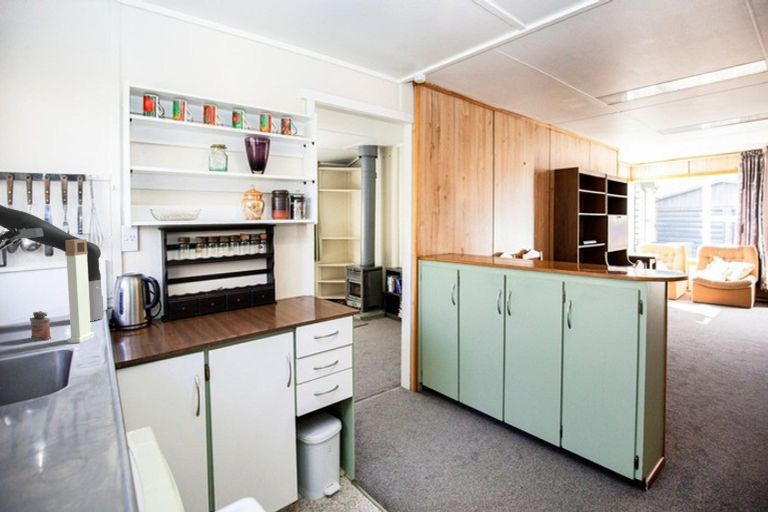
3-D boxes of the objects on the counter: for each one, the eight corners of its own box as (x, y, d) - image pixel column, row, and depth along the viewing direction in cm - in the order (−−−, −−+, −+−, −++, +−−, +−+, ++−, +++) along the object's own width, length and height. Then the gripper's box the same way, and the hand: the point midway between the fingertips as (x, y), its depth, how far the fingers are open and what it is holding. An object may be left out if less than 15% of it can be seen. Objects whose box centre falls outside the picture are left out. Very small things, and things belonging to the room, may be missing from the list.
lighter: (28, 338, 147) (26, 311, 146) (38, 336, 150) (37, 309, 150) (43, 341, 145) (41, 313, 144) (53, 338, 148) (52, 311, 147)
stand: (83, 336, 151) (78, 239, 148) (94, 336, 152) (89, 239, 148) (67, 342, 143) (61, 240, 140) (79, 342, 144) (74, 240, 140)
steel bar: (11, 239, 144) (10, 231, 144) (43, 236, 145) (42, 227, 144) (4, 240, 141) (2, 231, 141) (37, 236, 142) (35, 228, 141)
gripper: (-49, 246, 135) (-3, 221, 135) (-10, 243, 149) (31, 220, 149) (-35, 265, 136) (10, 241, 136) (2, 261, 150) (42, 238, 150)
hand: (20, 230), depth 143 cm, fingers closed on steel bar, 3 cm apart
